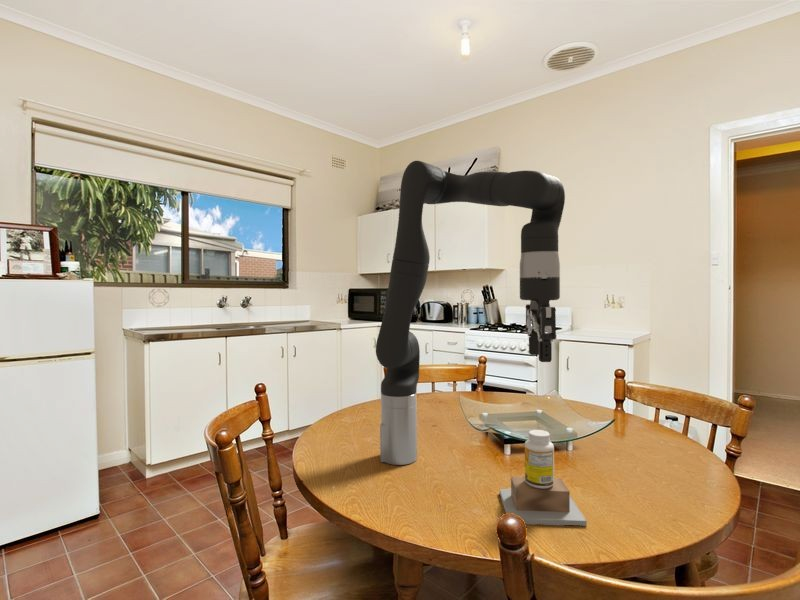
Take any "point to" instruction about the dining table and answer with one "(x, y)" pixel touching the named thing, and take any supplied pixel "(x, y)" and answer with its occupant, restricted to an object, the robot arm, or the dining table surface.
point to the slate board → (544, 513)
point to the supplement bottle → (539, 460)
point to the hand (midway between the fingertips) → (539, 358)
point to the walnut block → (540, 496)
